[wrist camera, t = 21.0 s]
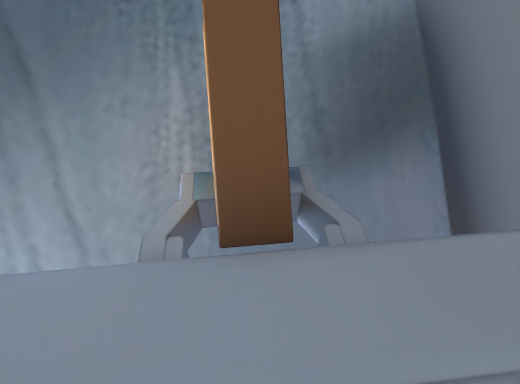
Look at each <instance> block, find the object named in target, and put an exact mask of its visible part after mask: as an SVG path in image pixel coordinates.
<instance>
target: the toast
mask: <svg viewBox="0 0 520 384" xmlns="http://www.w3.org/2000/svg"><path fill="white" fill-rule="evenodd" d="M202 6H203V20H204V25H203V35H204V50H205V64H206V78H207V92H208V106H209V120H210V134H211V148H212V163H213V177H214V191H215V205H216V219H217V225H218V232H219V246H220V248H229V247H241V246H253V245H264V244H276V243H288V242H293V226H292V209H291V193H290V177H289V160H288V144H287V127H286V111H285V95H284V78H283V62H282V45H281V29H280V13H279V0H202Z"/></svg>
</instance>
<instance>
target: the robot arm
mask: <svg viewBox="0 0 520 384" xmlns="http://www.w3.org/2000/svg"><path fill="white" fill-rule="evenodd" d="M289 177H290V193H291V209H292V221H294V220H297V222H298V223H299V224H300V225H301V226H302V227H303V228H304V229H305V230H306V231H307V232H308V233H309V234H310V235H311V237H312V238H313V239H314V240H315V241H316V242H317V243H318V247H315V248H303V249H292V250H280V251H269V252H257V253H246V254H235V255H223V256H212V257H200V258H189V256H188V253H187V251H188V249H189V248H190V246H191V245H192V243H193V242H194V240H195V239H196V237H197V236H198V234H199V232H200V231H201V229H202V228H205V227H214V226H218V225H217V219H216V205H215V191H214V177H213V172H197V173H182V176H181V186H180V198H179V201H177V202H175V203H174V204H173V205H172V206H171V207H170V209H169V210H168V211H167V212H166V213H165V214H164V215H163V216H162V217H161V218H160V219H159V221H158V222H157V223H156V224H155V225H154V226H153V227H152V228H151V229H150V230H149V231H148V233H147V234H146V235H145V236H144V237H143V238H142V242H141V248H140V253H139V259H138V263H131V264H120V265H109V266H97V267H86V268H74V269H63V270H52V271H40V272H29V273H17V274H6V275H0V384H520V230H509V231H498V232H487V233H476V234H464V235H452V236H441V237H430V238H418V239H407V240H395V241H384V242H372V243H369V242H368V239H367V237H366V234H365V232H364V230H363V227H362V225H361V222H360V221H359V220H358V219H356V218H355V217H354V216H352V215H351V214H350V213H349V212H347V211H346V210H345V209H343V208H342V207H341V206H339V205H338V204H337V203H335V202H334V201H333V200H332V199H330V198H329V197H328V196H326V195H325V194H324V193H322V192H318V190H317V187H316V185H315V182H314V179H313V176H312V173H311V170H310V167H309V166H297V167H289Z"/></svg>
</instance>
